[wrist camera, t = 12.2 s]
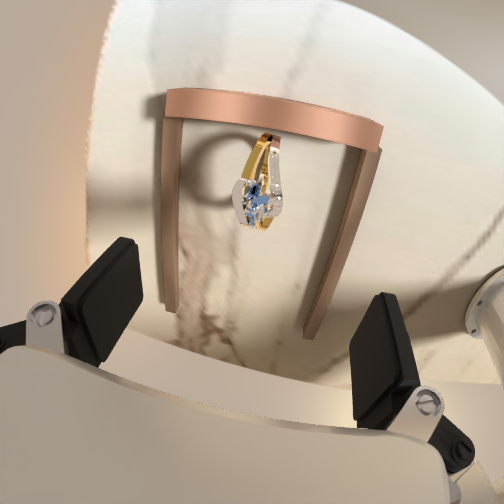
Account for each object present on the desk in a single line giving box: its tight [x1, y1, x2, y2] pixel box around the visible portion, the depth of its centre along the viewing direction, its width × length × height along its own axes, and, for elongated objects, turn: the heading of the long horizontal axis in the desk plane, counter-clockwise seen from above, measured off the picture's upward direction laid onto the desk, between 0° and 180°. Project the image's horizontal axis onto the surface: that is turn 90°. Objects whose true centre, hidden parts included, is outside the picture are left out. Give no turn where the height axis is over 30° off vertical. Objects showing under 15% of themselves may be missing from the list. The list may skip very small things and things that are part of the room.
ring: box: [232, 133, 283, 231], centre depth 20 cm, size 7×3×8 cm, turn 165°
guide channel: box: [161, 88, 384, 340], centre depth 25 cm, size 17×24×4 cm
